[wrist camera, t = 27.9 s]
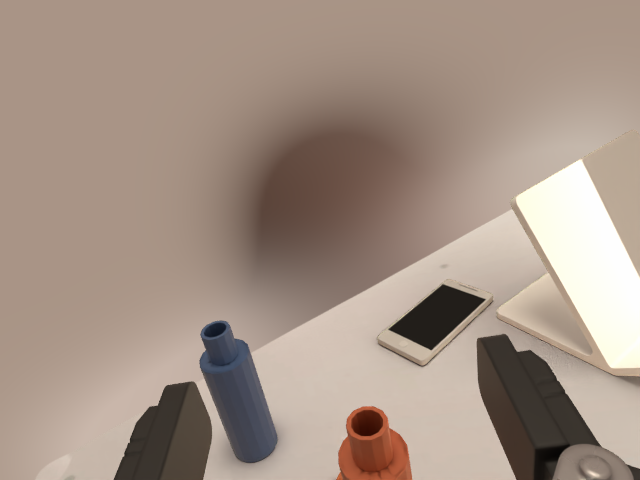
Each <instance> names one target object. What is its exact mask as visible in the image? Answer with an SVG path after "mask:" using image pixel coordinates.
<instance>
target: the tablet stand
mask: <svg viewBox="0 0 640 480" xmlns="http://www.w3.org/2000/svg"><path fill="white" fill-rule="evenodd" d="M510 203H511V207H512V209H513V211H514V212H515V214H516V216H517V218H518V219H519V221H520V223H521V225H522V226H523V228H524V230H525V232H526V234H527V235H528V237H529V239H530V241H531V242H532V244H533V246H534V248H535V249H536V251H537V253H538V255H539V256H540V258H541V260H542V262H543V263H544V265H545V267H546V269H547V271H548V272H547V273H546V274H545V275H543V276H542V277H540V278H539V279H538V280H536V281H535V282H533V283H532V284H531V285H529V286H528V287H527V288H525V289H524V290H522V291H521V292H520V293H518V294H517V295H515V296H514V297H513V298H511V299H510V300H508V301H507V302H506V303H504V304H503V305H502V306H500V307H499V308H497V318H498V319H500V320H502V321H504V322H506V323H508V324H510V325H512V326H514V327H516V328H519V329H521V330H523V331H525V332H527V333H529V334H531V335H533V336H535V337H537V338H539V339H541V340H543V341H545V342H547V343H549V344H551V345H553V346H555V347H557V348H559V349H561V350H563V351H565V352H567V353H569V354H571V355H573V356H576V357H578V358H580V359H582V360H584V361H586V362H588V363H590V364H592V365H594V366H596V367H598V368H600V369H602V370H604V371H606V372H608V373H610V374H612V375H614V376H640V135H639V134H638V133H637V131H635V130H631V131H629V132H627V133H625V134H623V135H622V136H620V137H618V138H616V139H615V140H613V141H611V142H609V143H608V144H606V145H604V146H602V147H601V148H599V149H597V150H595V151H594V152H592V153H590V154H588V155H587V156H585V157H583V158H581V159H580V160H578V161H576V162H574V163H573V164H571V165H569V166H567V167H566V168H564V169H562V170H560V171H559V172H557V173H555V174H553V175H552V176H550V177H548V178H547V179H545V180H543V181H541V182H539V183H538V184H536V185H534V186H532V187H531V188H529V189H527V190H525V191H524V192H522V193H520V194H519V195H517V196H515V197H513V198H512V199H511V202H510Z"/></svg>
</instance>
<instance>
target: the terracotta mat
mask: <svg viewBox="0 0 640 480" xmlns="http://www.w3.org/2000/svg"><path fill="white" fill-rule="evenodd" d="M336 480H343V479H342V475H341V472H340V473H339V475H338V477H337V479H336Z"/></svg>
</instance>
